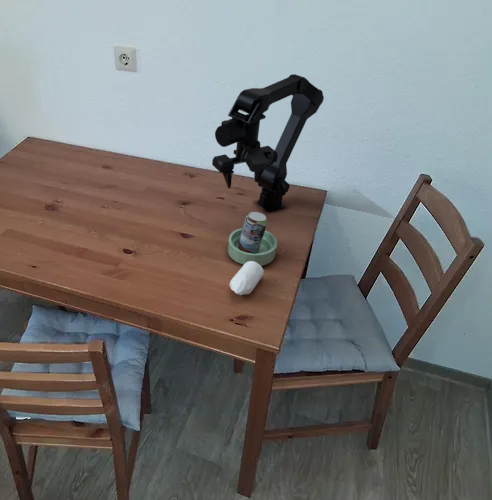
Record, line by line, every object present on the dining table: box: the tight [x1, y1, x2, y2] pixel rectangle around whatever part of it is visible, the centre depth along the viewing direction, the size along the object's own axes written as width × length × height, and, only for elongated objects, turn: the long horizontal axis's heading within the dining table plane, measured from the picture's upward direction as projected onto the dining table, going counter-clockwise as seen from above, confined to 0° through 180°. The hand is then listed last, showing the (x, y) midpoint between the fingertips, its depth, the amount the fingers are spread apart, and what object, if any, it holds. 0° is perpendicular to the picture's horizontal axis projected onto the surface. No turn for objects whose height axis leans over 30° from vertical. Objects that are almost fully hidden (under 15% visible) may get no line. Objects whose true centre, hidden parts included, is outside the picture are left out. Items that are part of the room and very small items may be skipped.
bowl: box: [227, 227, 278, 267], centre depth 154 cm, size 13×13×4 cm
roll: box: [229, 261, 265, 296], centre depth 141 cm, size 6×12×6 cm, turn 147°
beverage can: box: [238, 211, 268, 254], centre depth 151 cm, size 6×7×12 cm
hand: (242, 184), depth 161 cm, fingers open, 9 cm apart
